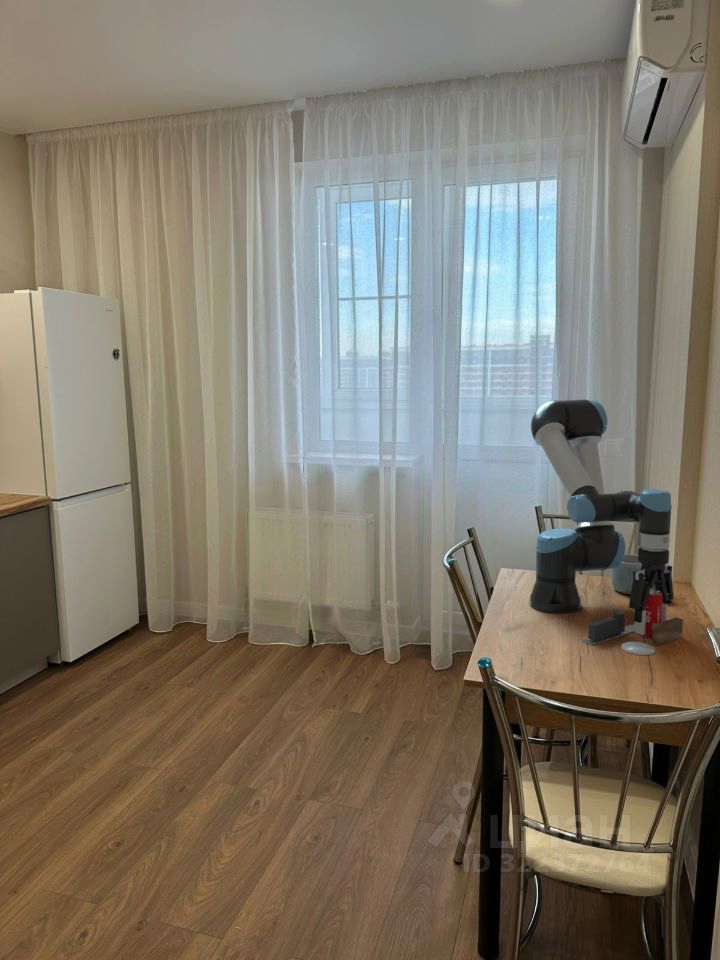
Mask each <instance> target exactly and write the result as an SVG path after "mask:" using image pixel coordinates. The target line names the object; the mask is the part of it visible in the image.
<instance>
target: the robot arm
mask: <svg viewBox="0 0 720 960" xmlns="http://www.w3.org/2000/svg"><path fill="white" fill-rule="evenodd" d="M607 425H608V415H607V412H606V409H605V408H604V406H603V405H602V404H601V403H600V402H599V401H597V400H594V399H586V398H582V399H569V400H564V399H563V400H558V399H557V400H549V401H546V402H544V403H543V404H541V405H540V406H539V407H538V408H537V409H536V410H535V412H533V416H532V418H531V423H530V431H531V435H532V437H533V439H534V441H535V443H536V444H537V446H538V447H541V448H542V449H543V451H544V453H545V455H546V457H547V458H548V460H549V462H550V464H551V466H552V467H553V470H554V472H555V473H556V475H557V476H558V479H559V481H560V482H561V484H562V486H563V488H564V489H565V491H566V494H567V495H568V497H569V498H568V500H567V504H566V510H567V513H568V515H567V516H568V517H569V519H570V520H571V521H573V522H574V523H578V524H577V525H576V526H575V528H574V529H572V528H566V527H565V528H552V529H547V530H544V531H542V532H541V533H539V535H538V536H537V539H536V546H535V551H536V553H535V554H536V555H535V556H536V559H535V561H536V565H535V570H536V572H535V581H534V585H533V587H532V591H531V594H530V596H529V605H530V604H531V605H530V607H532V606H533V607H532V608H534V609H535V610H539V611H543V612H548V613H552V614H554V613H556V614H567V613H569V614H570V613H573V612H576V611H579V610H580V609H581V607H582V599H581V597H580V594H579V590H578V587H577V583H576V575H577V574H576V572H585V571H586V572H587V571H606V570H611V568H615V567H617V566H619V565H620V563H621V562H622V560H623V558H624V555H625V554H626V541H625V538H624V536H623V534H622V532H620V531H618V530H616V529H615V524H614V523H612V522H615V521H635V522H637V523H639V526H638V527H639V528H638V529H639V530H638V542H637V543H638V546H639V548H638V550H637V551H638V552H637V553H638V554H637V555H638V561H639V562H640V563H641V564H642V567H641V570H640V571H639V572H635V571H634V572H633V584H632V590H631V594H630V597H629V603H628V608H630V609H631V610H634V619H633V620H634V624H635V627H634V632H633V633H636V634H639V635H642V636H643V635H645V622H646V611H645V610H644V607H645V604H646V601H647V598H648V595H649V592H650V589H651V587H653V585H655V588H656V590H658V591H660V592H662V620H661V622H663V621H666V620H668V608H669V607H668V605H672V604H673V600H674V587H673V586H674V585H673V577H672V576H673V575H672V574H673V566H672V565H668V564H669V562H670V551H669V548H670V540H671V539H670V535H671V520H672V519H671V518H672V507H673V506H672V495H671V493H670V492H669V491H668V490H664V489H643V490H642V491H640V493H638V492H635V491H633V490H632V491H631V490H620V491H617V492H616V493H605V488H604V480H603V474H602V468H601V460H600V453H599V443H600V442H601V441H602V440H603V439H602V438H603V437H602V436H603V435H604V434H605V433H606V431H607V429H608V426H607ZM644 581H645V582H644ZM646 582H647V583H646Z"/></svg>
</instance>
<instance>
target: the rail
mask: <svg viewBox="0 0 720 960" xmlns="http://www.w3.org/2000/svg"><path fill="white" fill-rule="evenodd" d="M634 627H635V623H632V624H630V625H625V632H622V633H616V634H613V635H610V636H607V637H604V638H601V639H598V640H595V641H594V640H592V639H589V638H584V639H583V640H581V642H582V643H584V642H585V644H587V643H588V644H587V645H590V644H591V645H590V646H594V645H597V644H601V643H603V642H606V641H609V640H612V639H615V638H619V637H621V636H625V635H627V634H631V633H635V632H634ZM596 643H597V644H596ZM593 644H594V645H593Z"/></svg>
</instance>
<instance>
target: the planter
mask: <svg viewBox="0 0 720 960" xmlns="http://www.w3.org/2000/svg"><path fill="white" fill-rule="evenodd" d="M641 567H642V564H641V563H640V562H639V561H638V554H632V553H631V554H630V553H629V554H626V553H625V555H624V558H623V560H622V562H621V563H620V565H619V566H617V567H615V568H611V569H610V575H611V576H610V577H611V578H610V579H611V584H612V585H611V586H612V588H613V589H614V590H615V591H616V592H618V593H621V594H624V595H631V590H632V584H633V572H634V571H635V572H639V571H640V570H641ZM644 582H645V581H644Z"/></svg>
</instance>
